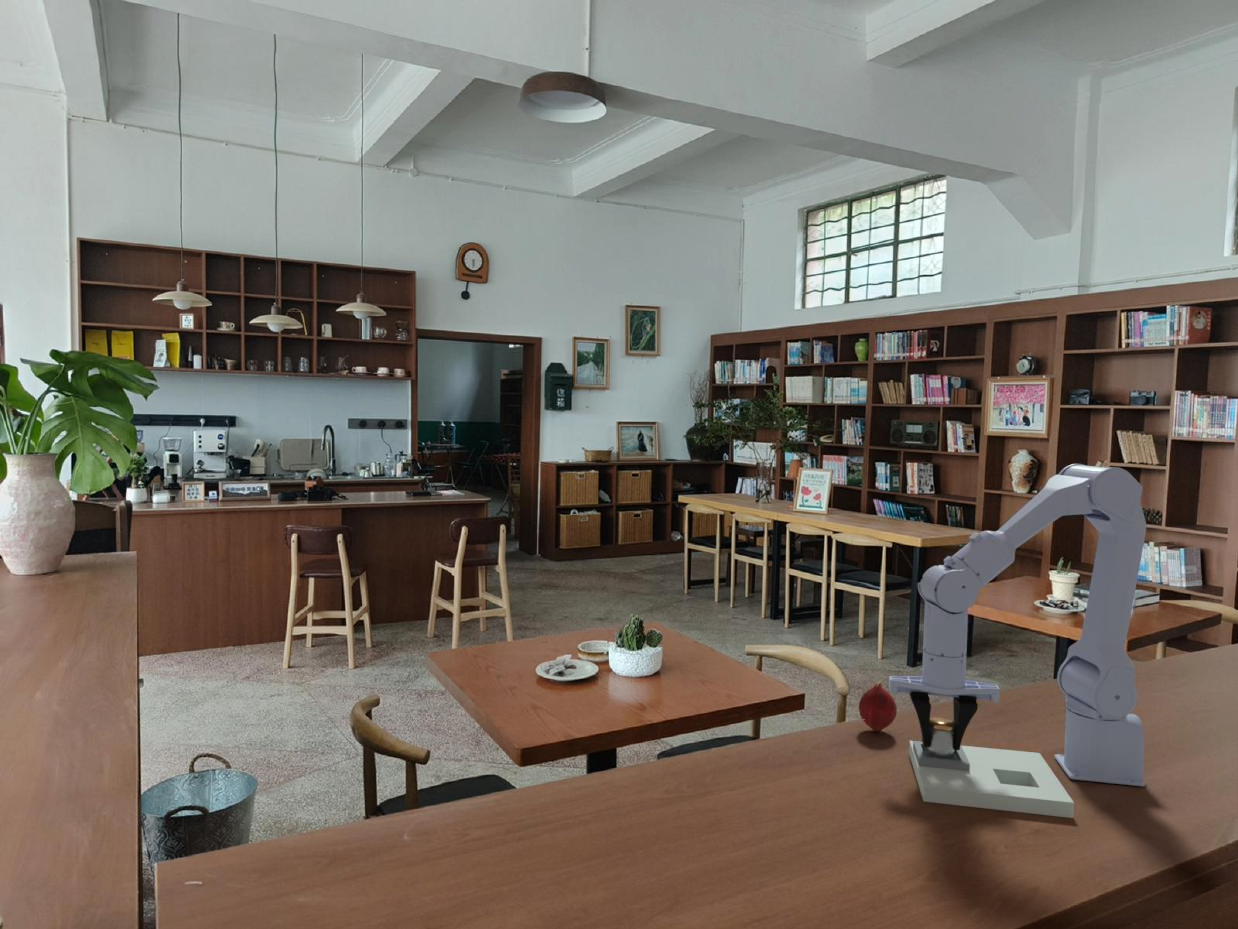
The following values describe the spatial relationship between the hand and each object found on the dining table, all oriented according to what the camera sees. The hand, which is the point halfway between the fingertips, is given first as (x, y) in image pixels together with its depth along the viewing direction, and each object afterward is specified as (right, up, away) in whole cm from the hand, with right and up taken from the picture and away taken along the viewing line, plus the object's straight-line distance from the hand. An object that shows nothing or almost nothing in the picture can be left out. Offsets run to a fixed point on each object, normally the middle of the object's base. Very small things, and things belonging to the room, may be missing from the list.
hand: (940, 746), depth 117 cm
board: (+5, -4, -3) cm, 7 cm away
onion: (-4, -3, +16) cm, 16 cm away
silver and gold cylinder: (0, -4, 0) cm, 4 cm away
